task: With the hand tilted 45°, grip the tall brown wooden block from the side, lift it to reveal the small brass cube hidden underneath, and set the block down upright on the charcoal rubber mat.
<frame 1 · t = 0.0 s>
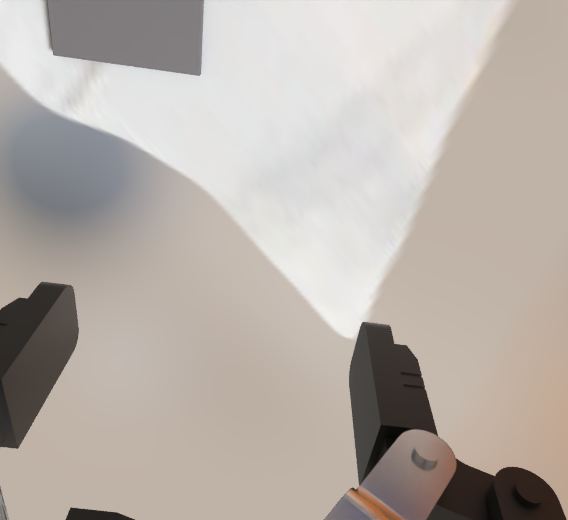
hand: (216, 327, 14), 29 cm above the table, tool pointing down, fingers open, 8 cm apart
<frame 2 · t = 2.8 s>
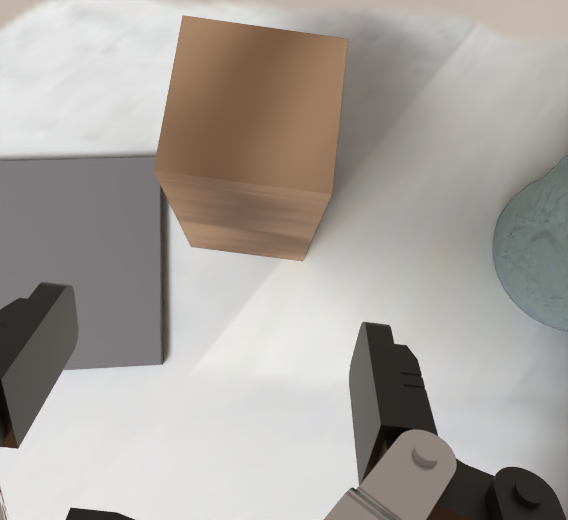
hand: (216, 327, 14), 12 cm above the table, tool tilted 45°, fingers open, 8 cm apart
brown wooden block: (254, 201, 28), on the table
embossed blue-grey cup: (561, 260, 28), on the table
charcoal mat: (45, 263, 26), on the table
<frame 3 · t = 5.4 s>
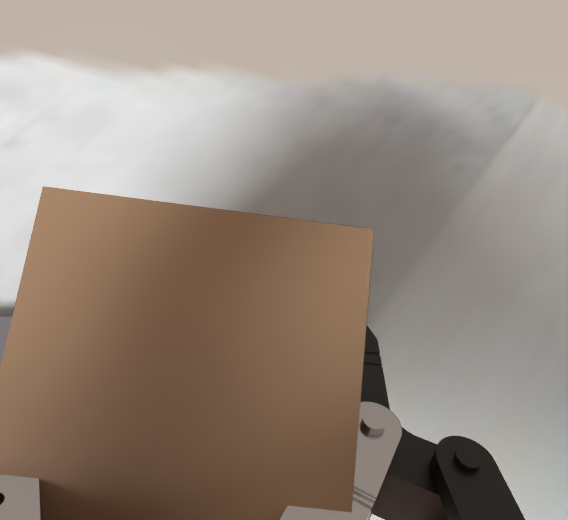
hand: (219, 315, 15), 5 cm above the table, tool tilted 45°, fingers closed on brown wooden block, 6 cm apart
brown wooden block: (221, 374, 19), on the table, touching gripper
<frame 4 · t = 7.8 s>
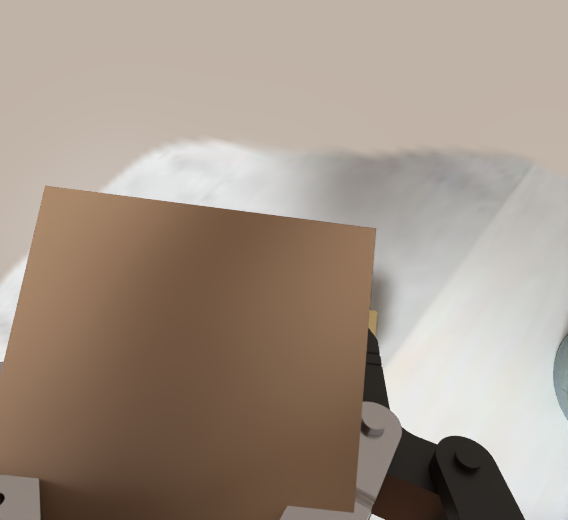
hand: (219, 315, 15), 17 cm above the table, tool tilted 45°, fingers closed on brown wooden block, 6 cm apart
brown wooden block: (222, 374, 19), point 12 cm above the table, touching gripper
when the fingers open (6 cm above the table, at t = 10.6 s): brown wooden block drops 1 cm, resting on charcoal mat.
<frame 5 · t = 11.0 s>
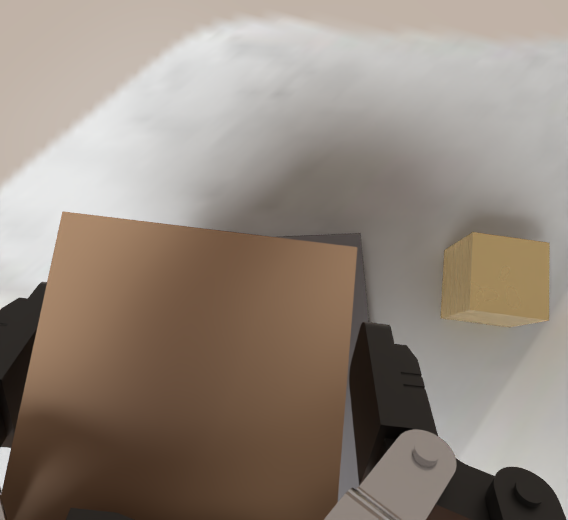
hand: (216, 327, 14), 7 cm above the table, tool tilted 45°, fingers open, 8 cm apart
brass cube: (475, 288, 22), on the table
brown wooden block: (221, 376, 20), point 1 cm above the table, touching charcoal mat
charcoal mat: (222, 375, 20), on the table
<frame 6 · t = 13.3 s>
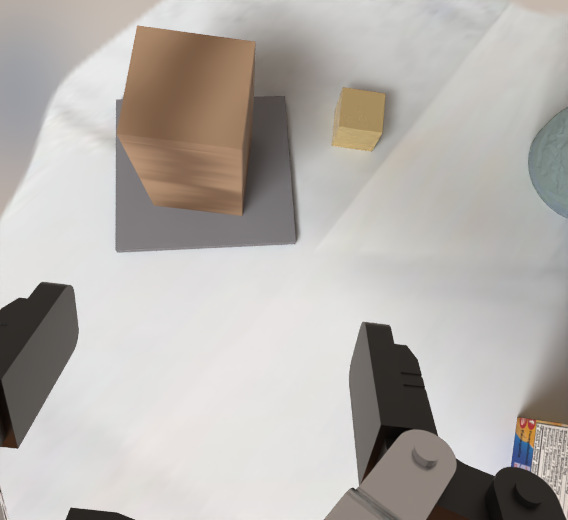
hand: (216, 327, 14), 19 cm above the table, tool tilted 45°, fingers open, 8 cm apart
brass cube: (353, 130, 37), on the table
brown wooden block: (204, 169, 35), point 1 cm above the table, touching charcoal mat
charcoal mat: (205, 172, 36), on the table
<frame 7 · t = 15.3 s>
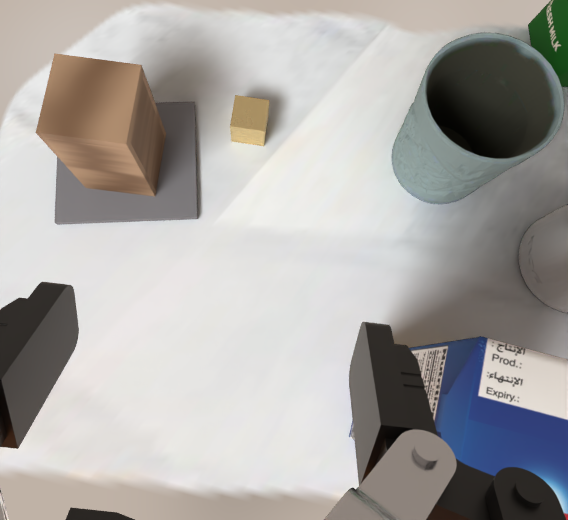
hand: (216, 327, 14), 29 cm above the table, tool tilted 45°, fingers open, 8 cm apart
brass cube: (250, 129, 47), on the table
brown wooden block: (126, 160, 45), point 1 cm above the table, touching charcoal mat
embossed blue-grey cup: (433, 164, 47), on the table
charcoal mat: (128, 162, 45), on the table
milk carton: (566, 57, 51), on the table
beverage box: (419, 411, 42), on the table
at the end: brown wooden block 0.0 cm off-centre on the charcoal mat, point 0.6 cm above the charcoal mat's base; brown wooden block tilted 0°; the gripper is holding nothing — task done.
